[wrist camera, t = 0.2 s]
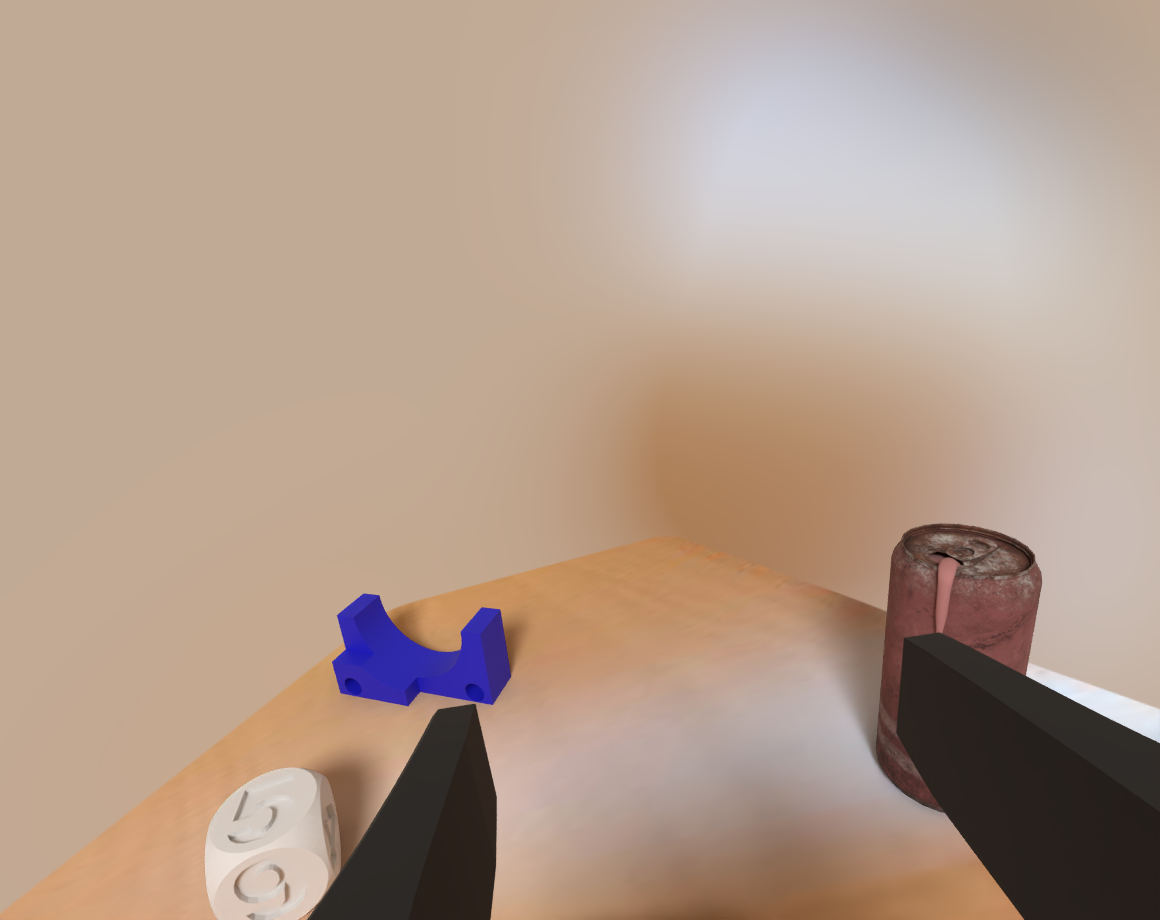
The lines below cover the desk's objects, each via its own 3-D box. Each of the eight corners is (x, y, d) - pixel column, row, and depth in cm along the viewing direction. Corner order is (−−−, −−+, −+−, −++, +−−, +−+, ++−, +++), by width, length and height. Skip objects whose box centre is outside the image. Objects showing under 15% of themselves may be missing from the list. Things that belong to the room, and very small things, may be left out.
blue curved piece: (341, 695, 44) (322, 626, 42) (379, 657, 48) (363, 593, 46) (482, 722, 40) (469, 648, 38) (511, 678, 44) (500, 609, 42)
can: (864, 791, 32) (882, 562, 27) (886, 716, 37) (904, 511, 32) (1001, 846, 28) (1046, 594, 24) (1005, 755, 33) (1044, 531, 29)
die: (341, 821, 33) (320, 752, 32) (342, 904, 29) (318, 828, 27) (243, 858, 32) (217, 787, 30) (228, 952, 27) (195, 874, 26)
